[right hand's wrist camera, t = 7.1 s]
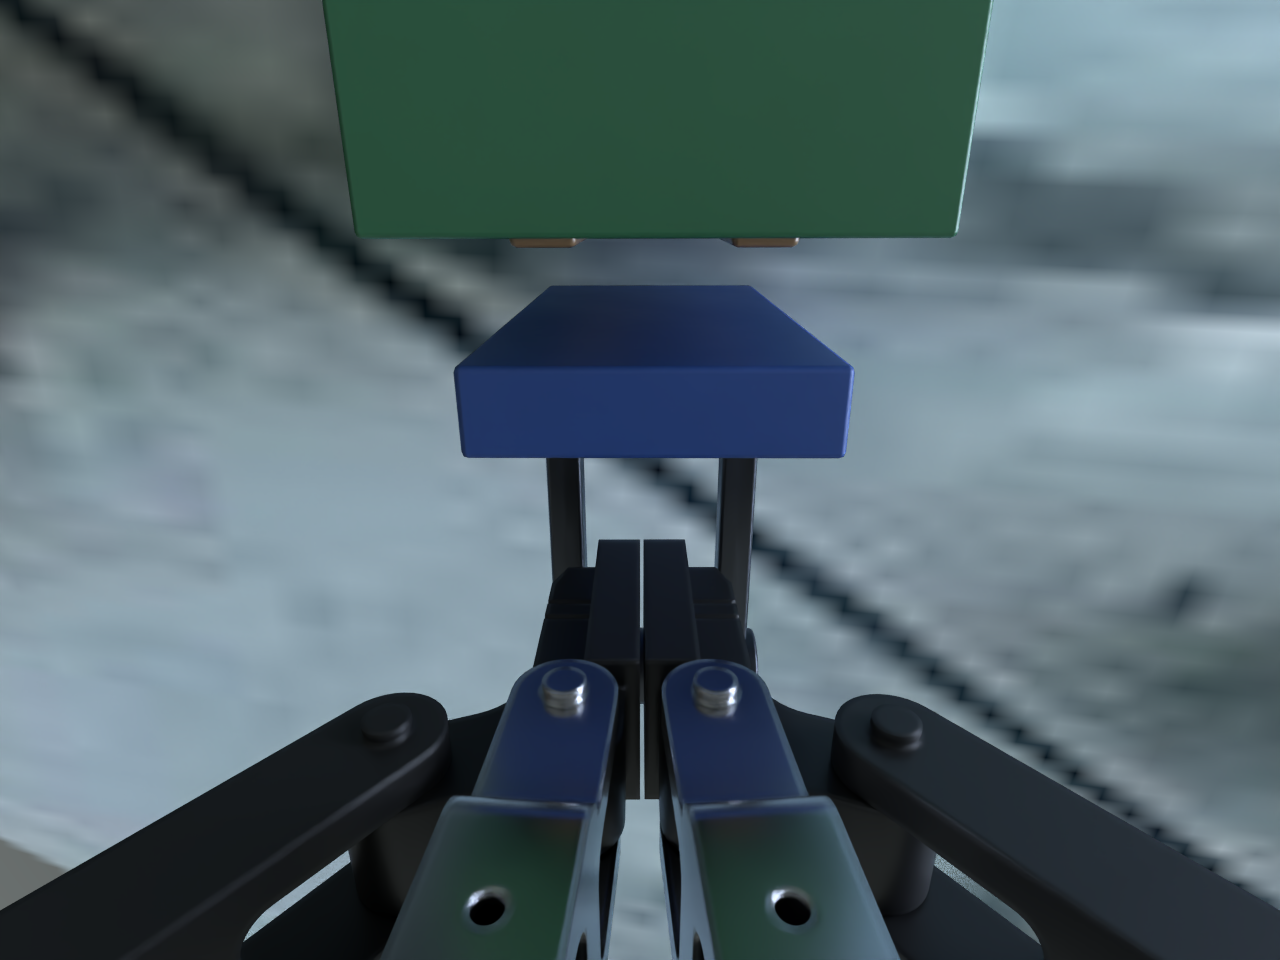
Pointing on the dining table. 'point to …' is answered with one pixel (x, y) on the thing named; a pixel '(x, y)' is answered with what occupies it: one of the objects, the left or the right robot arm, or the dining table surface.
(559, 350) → the drawer
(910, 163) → the cabinet
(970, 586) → the dining table surface
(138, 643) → the dining table surface
